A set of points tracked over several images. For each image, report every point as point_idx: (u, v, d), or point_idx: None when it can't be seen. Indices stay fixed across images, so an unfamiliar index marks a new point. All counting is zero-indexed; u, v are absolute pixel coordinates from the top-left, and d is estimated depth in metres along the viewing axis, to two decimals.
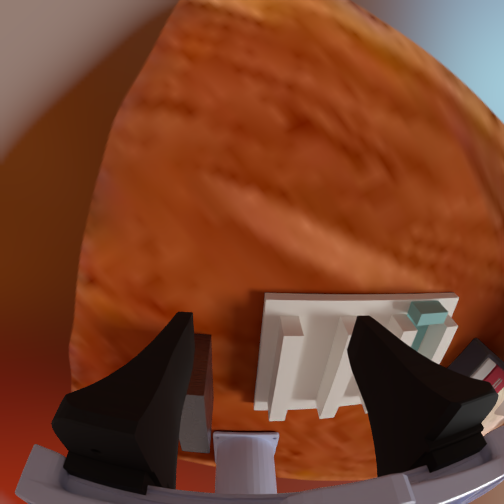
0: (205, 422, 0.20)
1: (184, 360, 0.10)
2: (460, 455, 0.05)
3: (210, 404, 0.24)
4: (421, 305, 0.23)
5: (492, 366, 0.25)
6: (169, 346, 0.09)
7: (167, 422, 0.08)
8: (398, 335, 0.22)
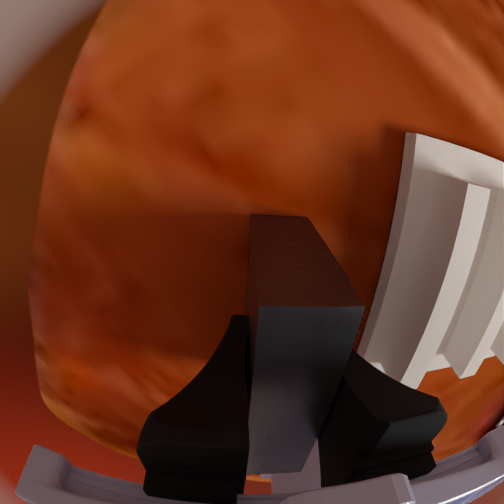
0: (330, 400, 0.08)
1: (245, 363, 0.11)
2: None
3: None
4: None
5: None
6: (239, 350, 0.09)
7: None
8: None
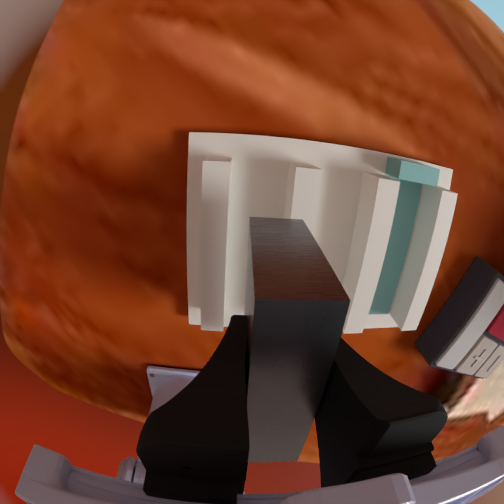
0: (321, 389, 0.09)
1: (245, 363, 0.11)
2: None
3: None
4: (401, 159, 0.17)
5: None
6: (239, 350, 0.09)
7: None
8: (373, 188, 0.17)
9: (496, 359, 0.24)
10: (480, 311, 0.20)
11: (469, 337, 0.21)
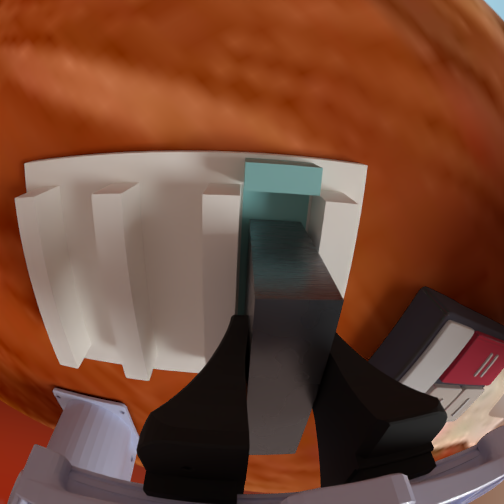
0: (317, 383, 0.10)
1: None
2: None
3: None
4: (262, 159, 0.13)
5: (466, 335, 0.16)
6: (239, 350, 0.09)
7: None
8: None
9: (464, 402, 0.20)
10: (422, 364, 0.16)
11: None
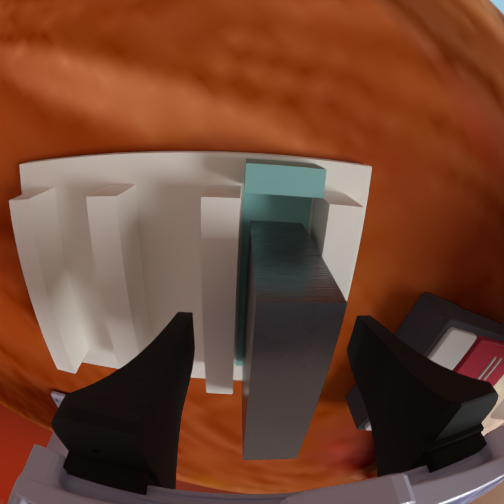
0: (320, 387, 0.09)
1: (184, 360, 0.10)
2: (460, 455, 0.05)
3: None
4: (263, 160, 0.12)
5: (468, 341, 0.15)
6: (169, 346, 0.09)
7: (167, 422, 0.08)
8: None
9: None
10: None
11: None
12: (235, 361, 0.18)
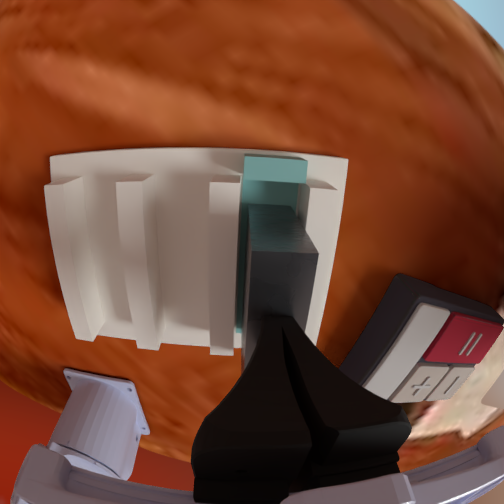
0: (303, 329, 0.12)
1: None
2: None
3: None
4: (258, 154, 0.16)
5: (441, 315, 0.18)
6: (277, 351, 0.09)
7: None
8: None
9: (454, 380, 0.22)
10: (400, 343, 0.19)
11: (394, 370, 0.20)
12: (235, 329, 0.21)
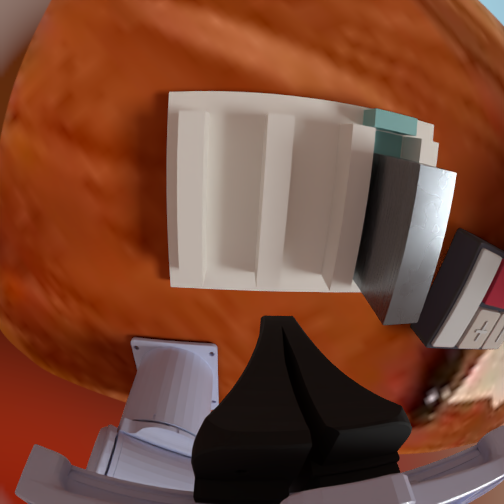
0: (442, 237, 0.14)
1: None
2: None
3: None
4: None
5: (496, 260, 0.20)
6: (277, 351, 0.09)
7: None
8: (349, 135, 0.16)
9: (503, 328, 0.23)
10: (469, 285, 0.20)
11: (463, 313, 0.21)
12: None
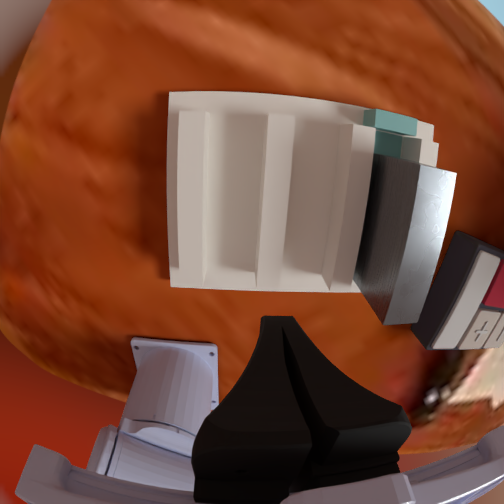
0: (442, 237, 0.14)
1: None
2: None
3: None
4: None
5: (494, 262, 0.20)
6: (277, 351, 0.09)
7: None
8: (349, 136, 0.16)
9: None
10: (467, 287, 0.20)
11: (463, 315, 0.22)
12: None
